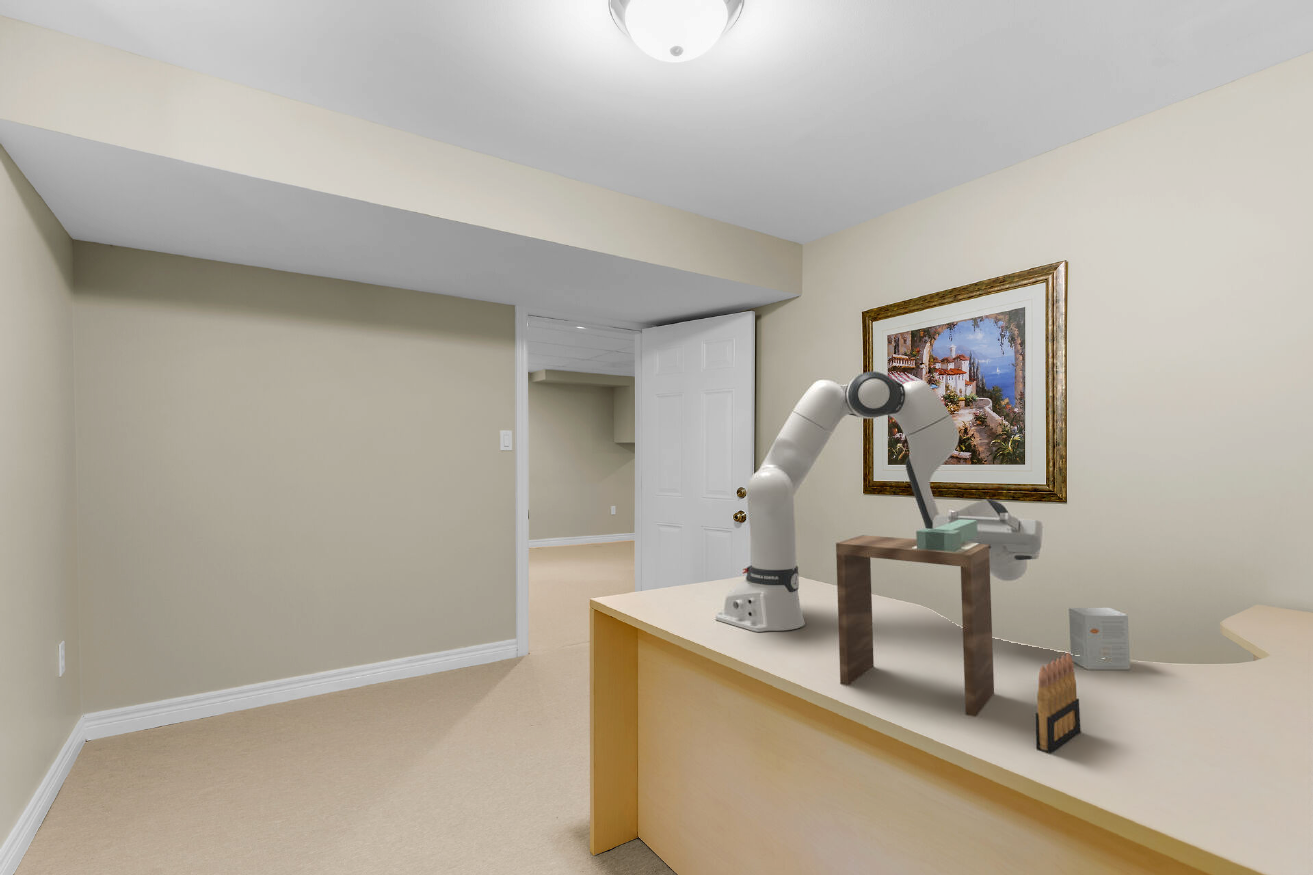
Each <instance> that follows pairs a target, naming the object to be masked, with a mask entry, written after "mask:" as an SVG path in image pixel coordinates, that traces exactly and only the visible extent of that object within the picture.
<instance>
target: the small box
mask: <svg viewBox="0 0 1313 875" xmlns="http://www.w3.org/2000/svg"><path fill="white" fill-rule="evenodd" d="M1068 618H1069V619H1068V621H1069V641H1070V642H1069V644H1070V646H1069V648H1070V655H1071V654H1073V655H1071V657H1072V660H1073V663H1076V664H1078V665H1079V666H1080V667H1082V668H1084V669H1086V670H1097V671H1098V670H1099V671H1102V670H1105V671H1107V670H1108V671H1109V670H1111V671H1113V670H1116V671H1117V670H1120V671H1121V670H1123V671H1124V670H1125V671H1126V670H1128V671H1129V670H1130V669H1131V659H1130V658H1131V656H1130V637H1129V634H1130V633H1129V632H1130V631H1129V615H1127V614H1126V613H1123V612H1121V611H1118V610H1116V609H1114V608H1112V607H1071V608H1070V607H1069V608H1068ZM1075 655H1080V656H1075ZM1102 658H1105V659H1102Z"/></svg>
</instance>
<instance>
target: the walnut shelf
mask: <svg viewBox="0 0 1313 875" xmlns="http://www.w3.org/2000/svg"><path fill="white" fill-rule="evenodd" d="M835 549H836V550H835V552H836V553H835V554H836V558H835V559H836V580H837V581H836V585H837V615H838V616H837V617H838V618H837V619H838V620H837V621H838V648H839V650H838V654H839V678H840V679H839V681H840V682H839V683H840V684H841V685H845V686H849V685H851V684H852V683H854V682H855V681H857V679H859V678H861V677H862V676H863V675H865V674H866V673H868V672H869V671H870V670H872V669H873V668H875V666H874V664H875V663H874V658H875V657H874V637H873V636H874V630H873V604H872V602H873V601H872V600H873V599H872V573H871V572H872V571H871V570H872V569H871V558H873V559H883V560H892V561H903V562H911V563H912V562H913V563H923V564H932V565H933V564H934V565H942V566H943V565H944V566H951V567H952V566H953V567H960V585H961V586H960V587H961V588H960V589H961V590H960V591H961V592H960V593H961V613H962V614H961V616H962V618H961V619H962V645H963V646H962V647H963V670H964V671H963V673H964V706H965V707H964V708H965V715H966V716H970V717H975V718H976V717H977V716H978V715H979V713H980V712H981V711H982V710H983V708H984V707H985V706H986V704H987V703H988V702H989V701H990V699H991V698H992V696H994V694H995V683H994V682H995V679H994V654H993V653H994V652H993V646H994V645H993V624H992V623H993V619H992V616H993V615H992V594H991V591H992V590H991V573H990V559H989V545H984V544H979V543H967V542H963V543H961V549H959V550H957V551H955V552H951V551H939V550H928V549H917V538H903V537H893V536H892V537H890V536H880V535H879V536H878V535H865V534H863V535H858V536H856V537H852V538H849V539H845V540H842V541H839V542H836V543H835Z"/></svg>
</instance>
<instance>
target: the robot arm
mask: <svg viewBox="0 0 1313 875" xmlns="http://www.w3.org/2000/svg"><path fill="white" fill-rule="evenodd" d="M847 415H849V416H852V417H853V416H854V417H857V418H862V419H876V418H879V417H884V416H889V417H891V418H892V419H894V420H895V421H896V423H897V424H898V425H899V426H900V429H901V431H902V433H903V435H904V436H905V438H906V440H907V443H908V448H909V454H908V456H907V458H906V459H905V470H906V473H907V476H908V477H907V478H908V479H909V480H908V481H909V483H910V486H911V489H912V492H913V495H914V498H915V500H916V504H917V507H918V509H919V512H920V515H921V517H922V520H923V524H924V526H925V527H924V528H927V529H934V528H937V527H940V526H943V525H945V524H948V523H951V522H954V521H957V520H960V519H964V520H977V534H978V536H976V537H974V538H972V539H970V540H968V541H965V542H967V543H979V544H984V545H989V559H990V575H992V576H993V577H995V578H997V580H1001V581H1006V582H1008V581H1009V582H1011V581H1015V580H1019V579H1020V578H1021V577H1023V576H1024V574H1025V572H1026V571H1027V570H1028V560H1038V559H1039V557H1040V552H1041V548H1042V542H1043V523H1042V521H1039V520H1038V519H1034V518H1033V519H1030V518H1017V517H1015V516H1012V515H1011V514H1010V513H1009V510H1008V509H1007V508H1006V507H1005V506H1004V505H1003V504H1002V503H1001V502H999V501H996V500H993V499H990V498H985V499H982V500H979V501H977V502H974V503H972V504H970V505H967V506H965V507H963V508H962V509H959V510H954V509H953V510H950V509H949V510H948V514H940V512H939V510H938V506H937V504H936V500H935V497H934V496H933V492H932V488H931V486H930V485H931V479H932V477H933V475H934V474H935V472H937V470H939V468H940V467H941V466H942V465H943V464H944V463H945V462H946V461H947V460H948V459H949V458H950V457H951V456H952V455H953V454H954V451H955V450H956V448H957V447H958V444H959V441H960V440H959V439H960V433H959V430H958V427H957V424H956V422H955V420H954V418H953V416H952V415H951V412H949V410H948V408H947V406H946V405H945V404H944V402H943V400H942V399H941V398H940V397H939V395H938V394H937V393H936V392H935V391H934V389H933V388H931V386H930V384H928V383H927V382H925V381H924V380H909V381H906V382H905V383H903V384H902V383H901V382H898V381H897V380H895V379H893V378H892V377H890V376H888V375H887V374H884V373H883V372H879V371H867V372H863V373H861V374H858V375H857V376H854V378H853V379H851V380H850V381H849V382H847V383H845V384H838V382H835V381H832V380H829V379H820V380H817V381H815V382H814V383H813V384H811V386H810V387H809V388H808V389H807V391H806V392H805V393H803V396H801V398H800V399H799V400H798V402H797V404H796V405H795V407H793V409H792V412H791V413H790V415H789V416H788V418H787V419H786V421H785V423H784V425H783V427H782V428H781V429H780V431H779V433H778V435H777V436H776V438H775V439H774V441H773V444H772V445H771V448H770V449H769V451H768V453H767V455H766V457H765V458H764V460H763V461H762V463H761V465H760V467H759V469H758V470H757V471H756V472H754V473H753V474H752V476H750V478H749V480H748V482H747V486H746V497H747V510H748V511H747V512H748V522H749V530H750V550H751V551H750V553H751V555H750V557H751V560H750V561H751V564H750V565H749V566H747V567H746V568H743V569H742V571H743V572H742V574H746V576H745V580H744V581H742V582H741V583H739V584H738V585H737V586H736V587H735V588H733V589H732V590H730V592H728V593H727V594H726V597H725V602H724V609H722V610H720V611H718V612H717V613H716V614H715V620H716V621H719V622H722V623H726V624H729V625H732V626H736V627H740V628H742V629H746V630H749V631H752V632H756V633H758V632H761V633H762V632H768V631H770V632H772V631H775V632H776V631H790V630H796V629H799V628H802V627H804V626H805V624H806V622H805V620H804V616H803V613H802V612H803V611H802V607H801V601H800V596H799V587H800V586H799V585H800V582H799V580H800V577H799V566H798V565H797V550H796V549H797V544H796V543H797V542H796V540H797V538H796V527H795V526H796V522H795V508H794V507H795V506H794V505H795V504H794V502H795V501H794V496H795V495H796V493H797V491H798V490H799V488H800V486H801V485H802V483H803V481H804V480H805V478H806V477H807V475H808V473H809V471H811V469H812V467H813V465H814V464H815V463H816V461H817V459H818V457H819V456H820V455H821V453H822V451H823V449H824V448H825V446H826V444H827V443H828V441H829V440H830V439H831V436H832V434H833V432H834V431H835V429H836V428H837V426H838V425H839V423H840V422H841V421H842V419H843V418H845V417H846V416H847Z"/></svg>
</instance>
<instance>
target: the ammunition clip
mask: <svg viewBox="0 0 1313 875" xmlns="http://www.w3.org/2000/svg"><path fill="white" fill-rule="evenodd" d="M1074 668H1075V666H1074V661H1073V660H1072V657H1071V652H1067V653H1066V655H1065V654H1063V655H1062V656H1061V657H1057V658H1056V660H1055V659H1054V660H1053V659H1052V661H1051V663H1049V662H1047V663H1046V665H1045V666H1044V665H1041V667H1040V669H1039V674H1038V691H1037V711H1036V713H1035V738H1036V739H1035V742H1036V743H1035V744H1036V746H1035V747H1036V750H1038V751H1042V752H1044V753H1048V754H1053V753H1054V752H1055V751H1057V750H1059V749H1060V748H1062V746H1064V745H1065V744H1067V743H1068V742H1070V741H1071V740H1073V739H1074V738H1075V737H1077V736H1078V735H1079V734H1080V733H1082V731H1081V714H1080V710H1081V709H1080V699H1079V698H1077V696H1078V695H1077V694H1078V693H1077V681H1076V677H1075V669H1074Z"/></svg>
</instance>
